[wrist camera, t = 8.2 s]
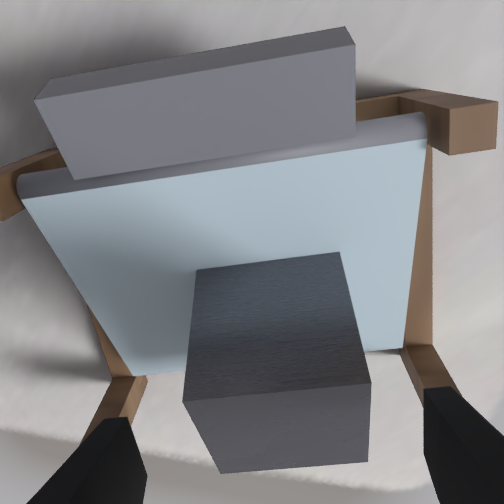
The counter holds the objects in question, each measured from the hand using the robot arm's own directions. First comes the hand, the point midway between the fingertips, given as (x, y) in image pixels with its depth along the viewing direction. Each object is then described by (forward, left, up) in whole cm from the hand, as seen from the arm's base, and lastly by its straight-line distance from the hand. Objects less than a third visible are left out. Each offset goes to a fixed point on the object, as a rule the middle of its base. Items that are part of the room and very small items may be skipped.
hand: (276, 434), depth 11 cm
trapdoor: (-1, +3, -7) cm, 7 cm away
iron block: (0, 0, -7) cm, 7 cm away
